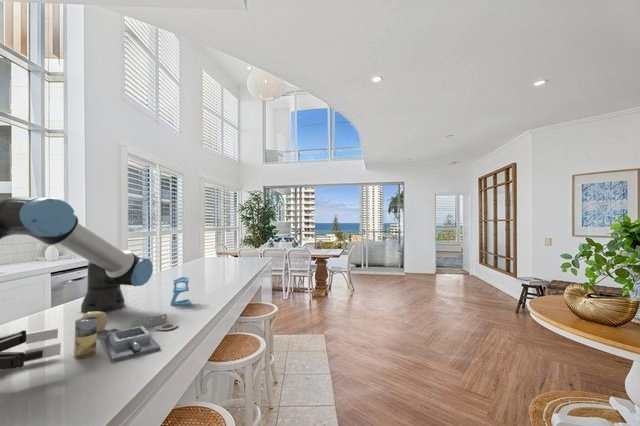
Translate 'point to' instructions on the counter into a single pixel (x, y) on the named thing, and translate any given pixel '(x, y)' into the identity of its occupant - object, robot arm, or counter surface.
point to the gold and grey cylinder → (85, 337)
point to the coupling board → (129, 343)
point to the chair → (180, 291)
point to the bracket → (159, 320)
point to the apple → (98, 319)
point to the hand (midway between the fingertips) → (59, 340)
